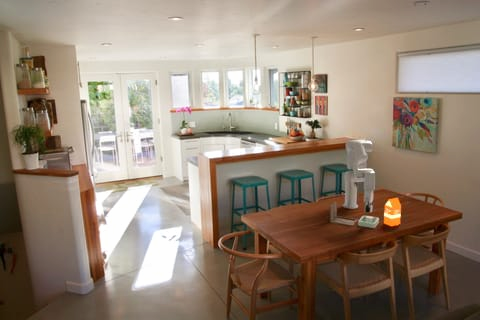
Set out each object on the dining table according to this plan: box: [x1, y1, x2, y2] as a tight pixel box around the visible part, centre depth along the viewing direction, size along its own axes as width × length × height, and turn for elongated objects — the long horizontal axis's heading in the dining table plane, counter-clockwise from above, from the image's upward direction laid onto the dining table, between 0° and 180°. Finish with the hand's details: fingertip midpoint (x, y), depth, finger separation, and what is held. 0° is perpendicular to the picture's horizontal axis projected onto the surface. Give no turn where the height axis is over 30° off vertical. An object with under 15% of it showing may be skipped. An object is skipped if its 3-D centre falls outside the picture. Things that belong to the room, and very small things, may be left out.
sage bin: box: [357, 215, 380, 229], centre depth 297 cm, size 14×12×4 cm
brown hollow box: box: [329, 200, 359, 227], centre depth 302 cm, size 15×17×14 cm
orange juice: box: [383, 197, 402, 227], centre depth 296 cm, size 8×9×20 cm
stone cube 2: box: [364, 204, 373, 213], centre depth 292 cm, size 4×4×4 cm
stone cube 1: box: [366, 215, 374, 223], centre depth 299 cm, size 4×4×4 cm
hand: (368, 210), depth 293 cm, fingers closed on stone cube 2, 4 cm apart
